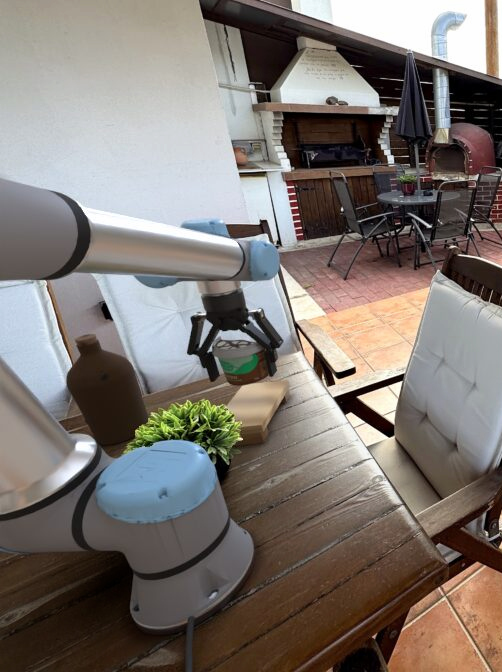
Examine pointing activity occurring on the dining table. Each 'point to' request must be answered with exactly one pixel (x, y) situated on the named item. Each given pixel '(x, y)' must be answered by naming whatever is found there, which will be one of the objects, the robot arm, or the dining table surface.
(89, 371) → the olive oil
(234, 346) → the food container
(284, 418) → the dining table surface
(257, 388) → the tan wooden block
